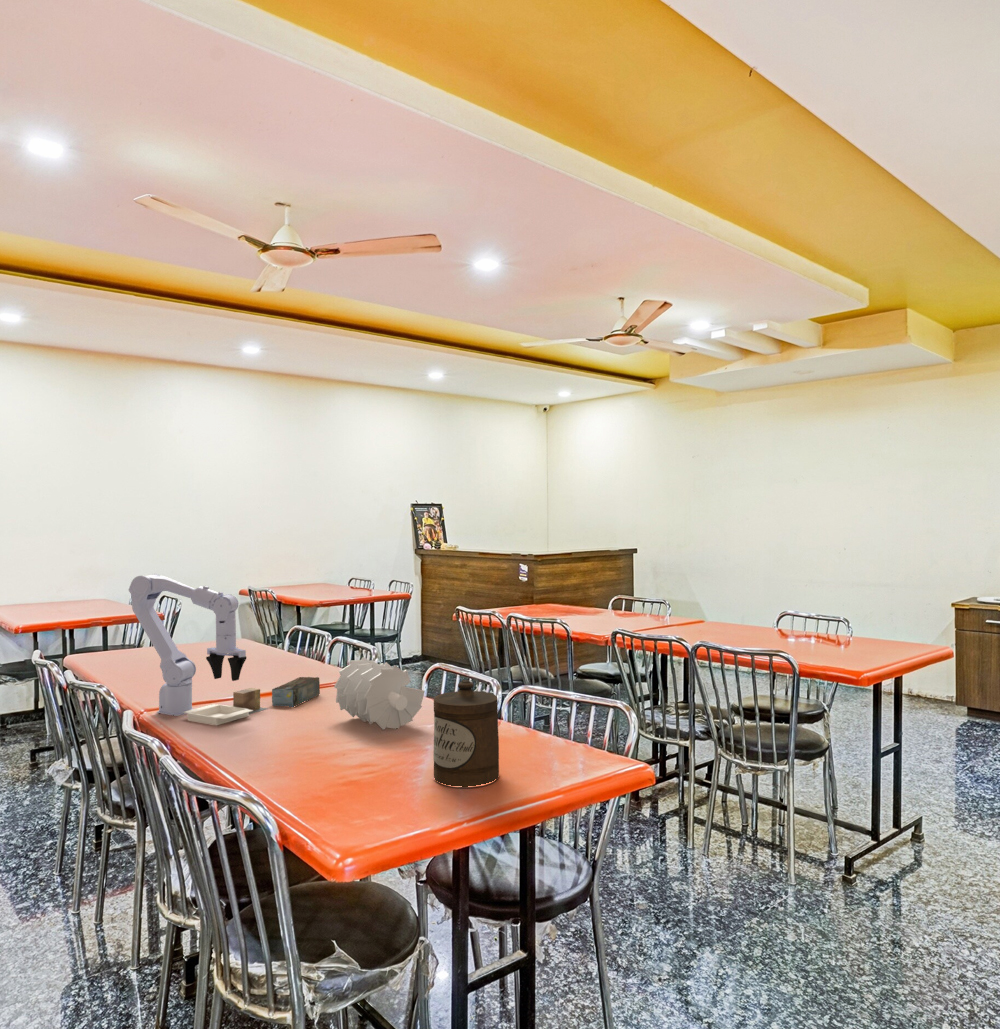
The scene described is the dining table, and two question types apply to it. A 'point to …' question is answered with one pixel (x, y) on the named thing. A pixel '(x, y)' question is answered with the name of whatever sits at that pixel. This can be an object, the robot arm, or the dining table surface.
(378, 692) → the spiral staircase
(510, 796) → the dining table surface
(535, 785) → the dining table surface
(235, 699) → the walnut block
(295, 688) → the beverage carton
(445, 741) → the wooden container
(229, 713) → the white tray
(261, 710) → the mat
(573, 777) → the dining table surface
